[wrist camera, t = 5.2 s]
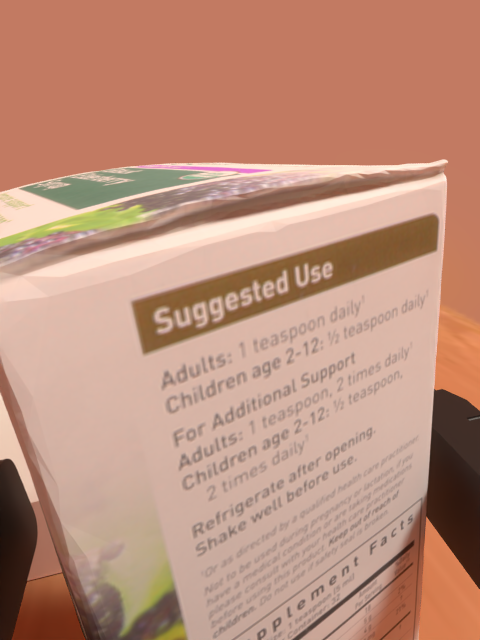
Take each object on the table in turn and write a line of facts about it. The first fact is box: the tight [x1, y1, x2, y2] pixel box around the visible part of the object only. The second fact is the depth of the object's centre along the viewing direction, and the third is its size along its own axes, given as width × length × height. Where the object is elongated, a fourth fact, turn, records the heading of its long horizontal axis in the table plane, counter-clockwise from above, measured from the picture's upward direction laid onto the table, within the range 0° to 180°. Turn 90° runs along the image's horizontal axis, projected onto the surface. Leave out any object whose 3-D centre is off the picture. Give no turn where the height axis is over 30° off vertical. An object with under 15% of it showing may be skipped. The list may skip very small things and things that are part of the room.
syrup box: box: [0, 160, 448, 640], centre depth 9 cm, size 6×6×14 cm
